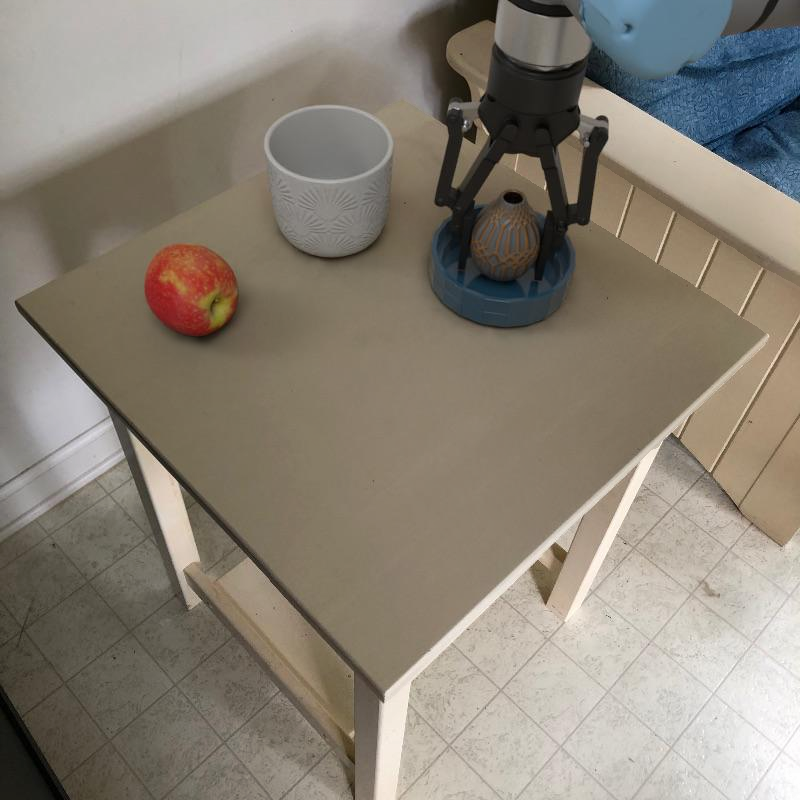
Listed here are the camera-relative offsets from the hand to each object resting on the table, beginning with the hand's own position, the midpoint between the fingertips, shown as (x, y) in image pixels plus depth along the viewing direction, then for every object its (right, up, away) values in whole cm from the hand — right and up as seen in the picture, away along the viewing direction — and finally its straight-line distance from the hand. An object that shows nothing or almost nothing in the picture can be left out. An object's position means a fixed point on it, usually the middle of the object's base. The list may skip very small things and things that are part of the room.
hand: (500, 265), depth 82 cm
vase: (0, 0, 0) cm, 0 cm away
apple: (-29, -6, -3) cm, 30 cm away
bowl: (0, -1, +2) cm, 2 cm away
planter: (-17, +5, +5) cm, 19 cm away
